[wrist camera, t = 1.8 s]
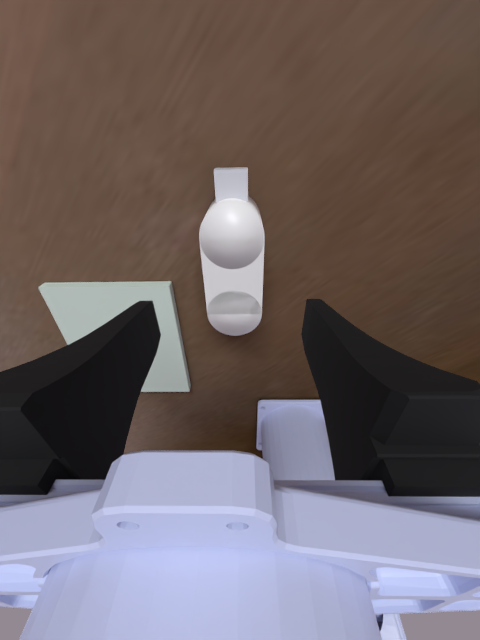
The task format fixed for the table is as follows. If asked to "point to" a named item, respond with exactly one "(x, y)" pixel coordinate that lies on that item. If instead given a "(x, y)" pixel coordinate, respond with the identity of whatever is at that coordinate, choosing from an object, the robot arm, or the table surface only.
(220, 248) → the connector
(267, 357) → the table surface
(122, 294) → the sage pad
